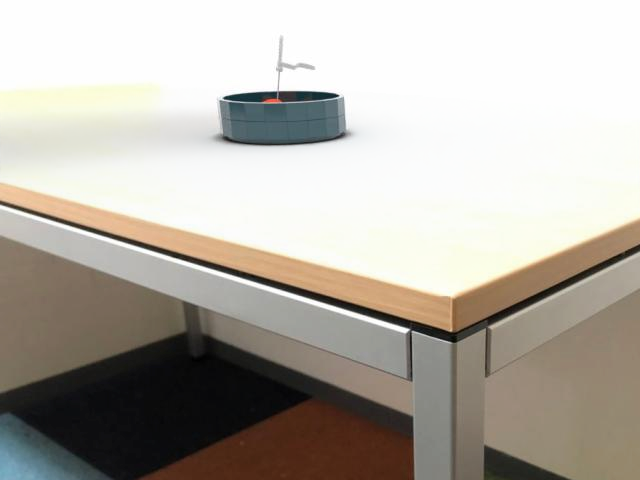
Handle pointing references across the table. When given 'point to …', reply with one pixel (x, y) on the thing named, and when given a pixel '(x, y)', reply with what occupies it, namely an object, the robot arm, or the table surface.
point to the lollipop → (286, 65)
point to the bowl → (282, 116)
